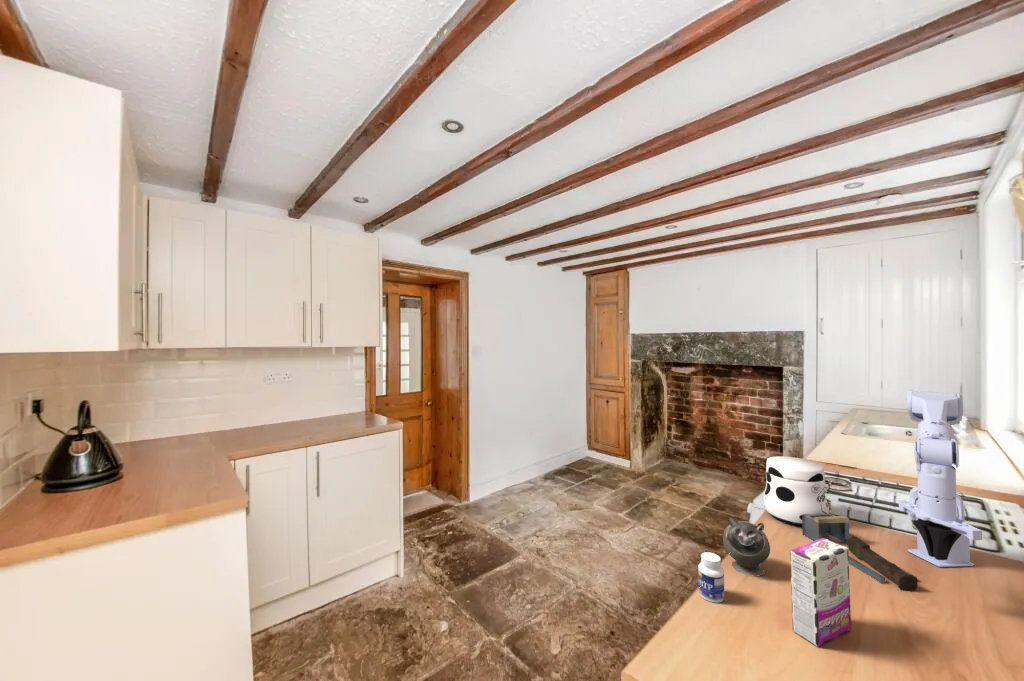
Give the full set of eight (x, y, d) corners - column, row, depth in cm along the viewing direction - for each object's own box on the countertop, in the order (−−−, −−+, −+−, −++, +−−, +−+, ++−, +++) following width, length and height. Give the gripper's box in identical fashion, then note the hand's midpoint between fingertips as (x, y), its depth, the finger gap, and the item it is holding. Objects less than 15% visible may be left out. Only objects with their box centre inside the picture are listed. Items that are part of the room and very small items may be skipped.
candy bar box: (823, 615, 84) (822, 536, 84) (852, 630, 79) (850, 547, 79) (789, 631, 79) (788, 548, 79) (817, 648, 75) (816, 560, 75)
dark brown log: (919, 593, 91) (919, 573, 91) (899, 592, 91) (899, 571, 92) (860, 550, 110) (859, 533, 110) (843, 549, 110) (843, 532, 110)
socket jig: (831, 533, 119) (831, 509, 119) (916, 581, 95) (916, 551, 95) (802, 534, 118) (802, 510, 118) (880, 583, 94) (880, 552, 95)
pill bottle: (693, 592, 92) (692, 553, 92) (709, 586, 94) (709, 548, 94) (713, 606, 87) (712, 565, 87) (729, 599, 89) (729, 559, 89)
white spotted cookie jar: (844, 531, 120) (843, 471, 121) (786, 531, 121) (785, 471, 121) (803, 507, 138) (802, 455, 138) (752, 507, 138) (751, 455, 138)
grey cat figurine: (731, 578, 97) (778, 582, 95) (729, 529, 98) (776, 531, 95) (719, 556, 107) (761, 559, 105) (717, 512, 107) (759, 513, 105)
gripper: (885, 483, 93) (887, 541, 93) (957, 508, 79) (959, 578, 79) (914, 482, 94) (915, 540, 94) (991, 507, 79) (993, 576, 79)
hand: (937, 557), depth 86 cm, fingers closed
